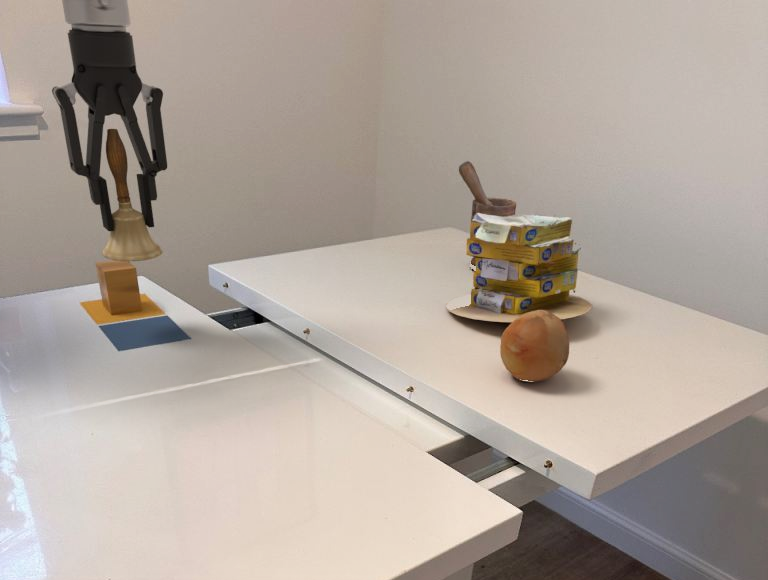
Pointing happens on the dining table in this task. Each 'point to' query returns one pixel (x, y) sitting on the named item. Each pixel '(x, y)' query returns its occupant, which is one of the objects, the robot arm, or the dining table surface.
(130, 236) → the hand bell
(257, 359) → the dining table surface
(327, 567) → the dining table surface
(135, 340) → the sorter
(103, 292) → the block
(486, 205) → the mortar and pestle
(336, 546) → the dining table surface
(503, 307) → the stacked boxes on plate
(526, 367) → the onion
